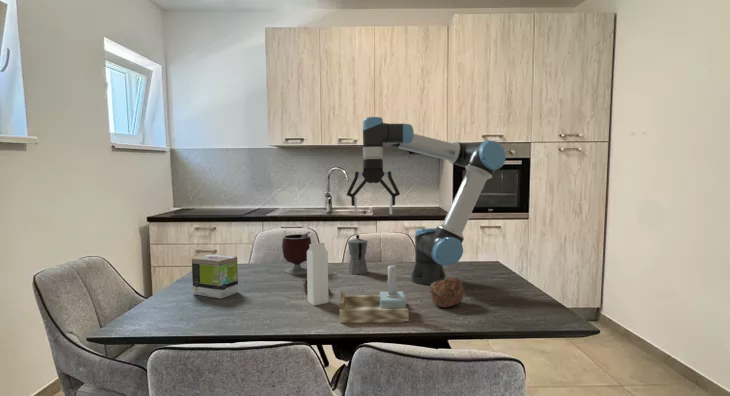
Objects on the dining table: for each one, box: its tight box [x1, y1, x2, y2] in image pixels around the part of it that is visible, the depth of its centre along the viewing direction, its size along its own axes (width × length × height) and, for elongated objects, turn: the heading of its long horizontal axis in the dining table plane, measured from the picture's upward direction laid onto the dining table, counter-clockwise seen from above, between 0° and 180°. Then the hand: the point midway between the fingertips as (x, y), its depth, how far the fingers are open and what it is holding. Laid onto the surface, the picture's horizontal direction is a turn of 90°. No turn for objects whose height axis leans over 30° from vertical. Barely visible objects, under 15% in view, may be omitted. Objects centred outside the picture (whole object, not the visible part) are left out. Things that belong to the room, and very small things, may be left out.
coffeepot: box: [347, 234, 368, 275], centre depth 185 cm, size 15×9×18 cm, turn 9°
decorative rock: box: [429, 276, 465, 308], centre depth 140 cm, size 13×11×10 cm
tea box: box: [191, 253, 239, 299], centre depth 156 cm, size 15×10×15 cm, turn 65°
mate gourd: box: [281, 231, 312, 275], centre depth 189 cm, size 16×14×20 cm
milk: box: [306, 242, 329, 306], centre depth 144 cm, size 6×6×22 cm
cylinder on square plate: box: [378, 265, 408, 309], centre depth 132 cm, size 8×10×15 cm
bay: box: [339, 290, 410, 324], centre depth 134 cm, size 22×18×6 cm
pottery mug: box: [303, 279, 331, 295], centre depth 157 cm, size 12×10×8 cm
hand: (373, 214), depth 150 cm, fingers open, 13 cm apart
